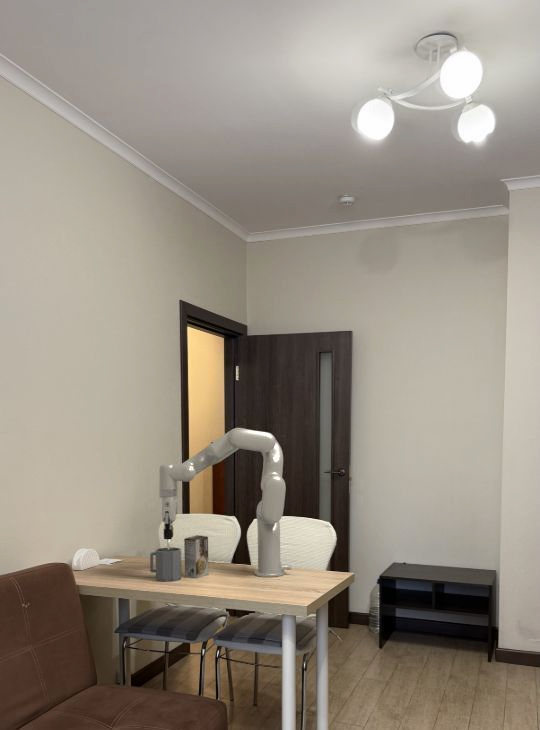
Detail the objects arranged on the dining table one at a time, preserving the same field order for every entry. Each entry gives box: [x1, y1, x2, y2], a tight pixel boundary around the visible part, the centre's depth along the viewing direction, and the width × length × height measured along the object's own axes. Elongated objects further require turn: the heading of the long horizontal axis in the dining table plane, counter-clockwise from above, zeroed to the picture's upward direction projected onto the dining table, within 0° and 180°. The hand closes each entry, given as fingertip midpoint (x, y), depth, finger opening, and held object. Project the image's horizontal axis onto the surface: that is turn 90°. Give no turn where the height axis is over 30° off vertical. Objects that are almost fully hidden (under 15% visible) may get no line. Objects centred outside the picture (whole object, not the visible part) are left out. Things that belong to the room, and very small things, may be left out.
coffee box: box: [183, 534, 210, 579], centre depth 294 cm, size 9×6×16 cm
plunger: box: [166, 527, 174, 552], centre depth 289 cm, size 8×8×16 cm
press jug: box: [149, 546, 182, 583], centre depth 289 cm, size 13×10×12 cm
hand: (168, 537), depth 290 cm, fingers closed on plunger, 4 cm apart
